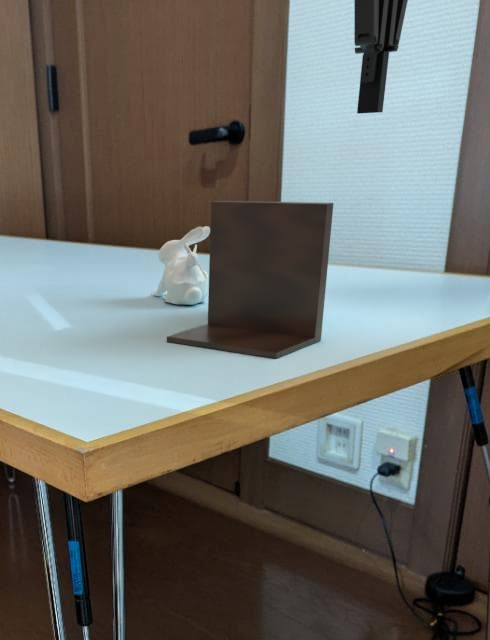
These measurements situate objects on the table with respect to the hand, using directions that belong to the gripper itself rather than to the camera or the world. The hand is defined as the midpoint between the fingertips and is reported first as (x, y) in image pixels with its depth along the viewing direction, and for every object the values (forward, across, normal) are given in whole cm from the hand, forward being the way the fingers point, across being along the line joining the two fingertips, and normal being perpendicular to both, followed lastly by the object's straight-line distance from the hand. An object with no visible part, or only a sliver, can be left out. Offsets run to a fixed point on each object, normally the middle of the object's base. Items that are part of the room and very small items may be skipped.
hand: (369, 112), depth 101 cm
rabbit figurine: (+23, +15, -17) cm, 32 cm away
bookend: (+22, +32, +3) cm, 39 cm away
